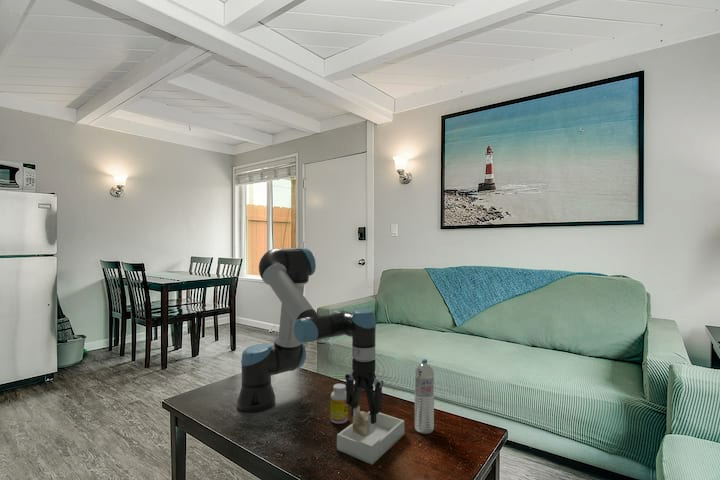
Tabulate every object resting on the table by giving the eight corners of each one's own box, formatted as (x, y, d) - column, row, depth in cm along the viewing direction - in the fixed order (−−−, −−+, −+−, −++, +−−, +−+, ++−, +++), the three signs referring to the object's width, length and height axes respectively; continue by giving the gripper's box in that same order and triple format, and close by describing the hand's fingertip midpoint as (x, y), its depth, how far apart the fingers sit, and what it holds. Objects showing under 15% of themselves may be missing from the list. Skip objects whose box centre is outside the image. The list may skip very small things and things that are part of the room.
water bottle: (435, 426, 134) (435, 358, 134) (432, 436, 128) (432, 364, 128) (416, 423, 137) (416, 355, 136) (412, 432, 130) (413, 361, 130)
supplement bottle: (345, 425, 135) (345, 390, 135) (328, 423, 136) (328, 388, 136) (349, 416, 141) (350, 383, 141) (333, 414, 143) (333, 381, 143)
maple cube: (352, 432, 119) (352, 416, 119) (361, 425, 123) (361, 410, 123) (365, 436, 116) (365, 421, 116) (374, 430, 120) (374, 414, 120)
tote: (336, 449, 119) (336, 434, 119) (371, 423, 136) (371, 409, 136) (372, 464, 112) (372, 448, 112) (404, 434, 129) (404, 420, 129)
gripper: (334, 356, 122) (334, 426, 122) (381, 367, 111) (381, 444, 112) (348, 350, 128) (348, 417, 128) (393, 360, 118) (393, 433, 118)
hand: (363, 429), depth 120 cm, fingers closed on maple cube, 5 cm apart
